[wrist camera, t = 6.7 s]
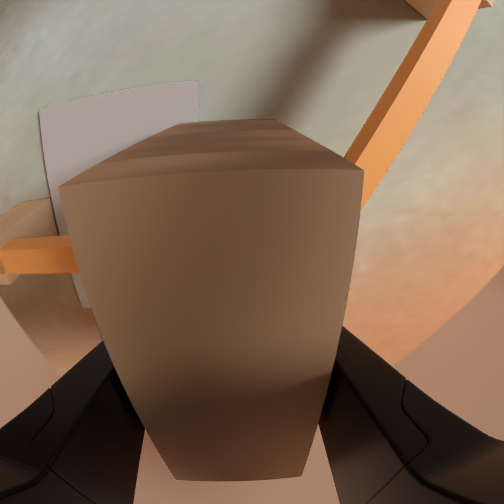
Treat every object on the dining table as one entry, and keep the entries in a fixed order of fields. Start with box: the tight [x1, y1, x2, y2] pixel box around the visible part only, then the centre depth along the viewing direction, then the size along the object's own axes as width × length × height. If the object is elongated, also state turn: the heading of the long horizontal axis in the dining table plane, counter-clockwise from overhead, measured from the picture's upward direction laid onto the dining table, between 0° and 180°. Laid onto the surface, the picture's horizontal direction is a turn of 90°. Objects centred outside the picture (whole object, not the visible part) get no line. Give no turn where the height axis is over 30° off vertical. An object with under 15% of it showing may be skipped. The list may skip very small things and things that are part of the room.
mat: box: [39, 80, 200, 309], centre depth 16 cm, size 9×13×1 cm
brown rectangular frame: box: [58, 119, 364, 481], centre depth 10 cm, size 4×9×10 cm, turn 1°
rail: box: [0, 0, 494, 285], centre depth 11 cm, size 13×28×6 cm, turn 136°
